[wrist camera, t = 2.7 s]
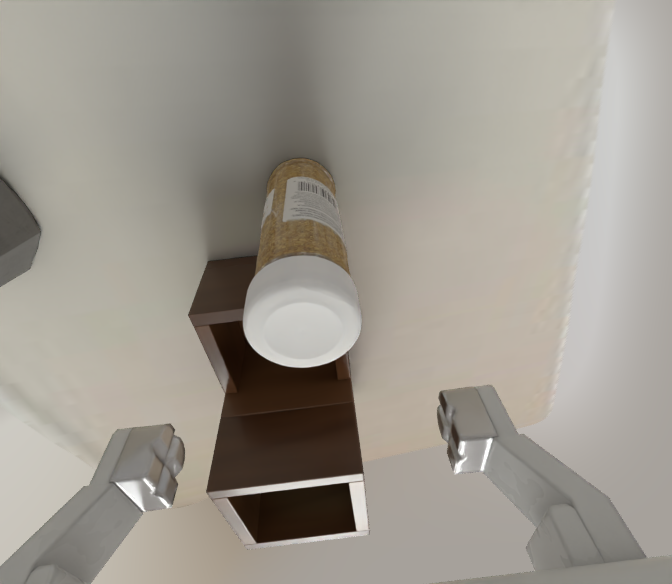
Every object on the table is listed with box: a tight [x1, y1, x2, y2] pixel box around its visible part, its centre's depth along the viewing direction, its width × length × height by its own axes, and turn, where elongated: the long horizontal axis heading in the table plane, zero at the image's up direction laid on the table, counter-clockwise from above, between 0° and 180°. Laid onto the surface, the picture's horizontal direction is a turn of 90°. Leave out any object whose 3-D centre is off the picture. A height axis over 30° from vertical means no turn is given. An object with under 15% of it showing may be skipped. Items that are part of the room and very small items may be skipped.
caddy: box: [188, 256, 370, 549], centre depth 27 cm, size 18×10×13 cm, turn 5°
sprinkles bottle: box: [243, 158, 362, 368], centre depth 19 cm, size 5×5×14 cm
